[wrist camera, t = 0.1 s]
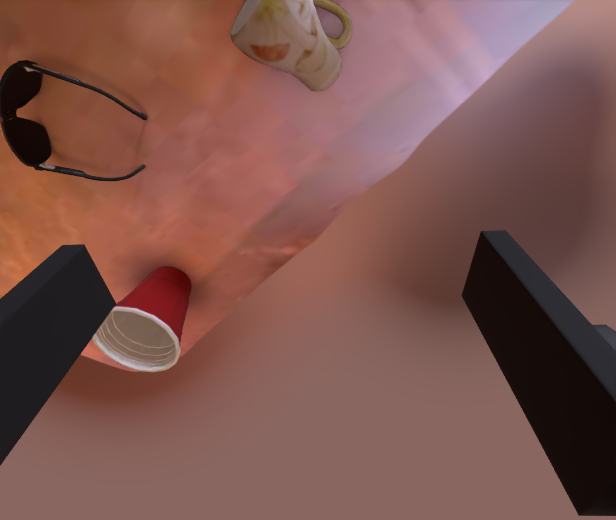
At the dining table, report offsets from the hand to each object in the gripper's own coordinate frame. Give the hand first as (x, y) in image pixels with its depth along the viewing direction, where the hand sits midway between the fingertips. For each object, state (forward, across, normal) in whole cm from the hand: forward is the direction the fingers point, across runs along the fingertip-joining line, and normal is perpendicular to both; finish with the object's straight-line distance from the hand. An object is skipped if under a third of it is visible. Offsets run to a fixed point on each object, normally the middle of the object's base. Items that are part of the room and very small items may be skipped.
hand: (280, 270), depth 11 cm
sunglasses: (+28, -23, -1) cm, 37 cm away
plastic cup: (+28, -21, -23) cm, 42 cm away
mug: (+28, 0, +6) cm, 29 cm away
